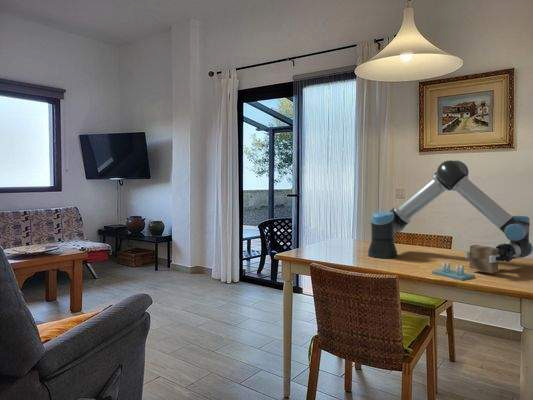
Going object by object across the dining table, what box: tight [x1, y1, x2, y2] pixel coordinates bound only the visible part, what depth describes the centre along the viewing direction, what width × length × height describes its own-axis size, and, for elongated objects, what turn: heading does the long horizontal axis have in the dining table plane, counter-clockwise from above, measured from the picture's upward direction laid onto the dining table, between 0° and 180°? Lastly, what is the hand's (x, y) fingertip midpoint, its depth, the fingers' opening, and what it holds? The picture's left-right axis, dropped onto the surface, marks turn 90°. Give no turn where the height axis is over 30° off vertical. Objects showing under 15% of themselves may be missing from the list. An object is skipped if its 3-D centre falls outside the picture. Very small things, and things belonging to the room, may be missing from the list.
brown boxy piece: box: [468, 244, 499, 274], centre depth 173 cm, size 10×4×10 cm, turn 30°
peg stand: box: [431, 262, 476, 281], centre depth 171 cm, size 14×9×4 cm, turn 30°
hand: (477, 257), depth 171 cm, fingers closed on brown boxy piece, 10 cm apart
